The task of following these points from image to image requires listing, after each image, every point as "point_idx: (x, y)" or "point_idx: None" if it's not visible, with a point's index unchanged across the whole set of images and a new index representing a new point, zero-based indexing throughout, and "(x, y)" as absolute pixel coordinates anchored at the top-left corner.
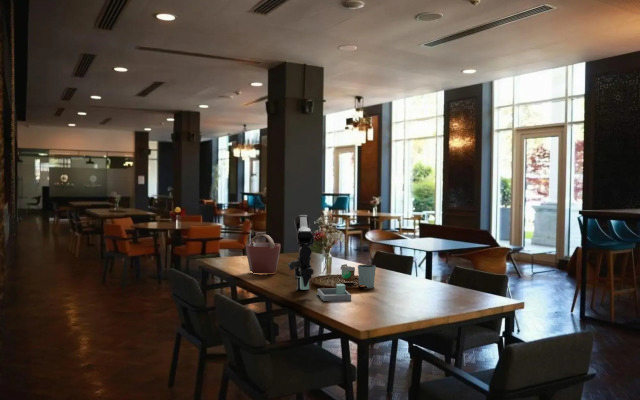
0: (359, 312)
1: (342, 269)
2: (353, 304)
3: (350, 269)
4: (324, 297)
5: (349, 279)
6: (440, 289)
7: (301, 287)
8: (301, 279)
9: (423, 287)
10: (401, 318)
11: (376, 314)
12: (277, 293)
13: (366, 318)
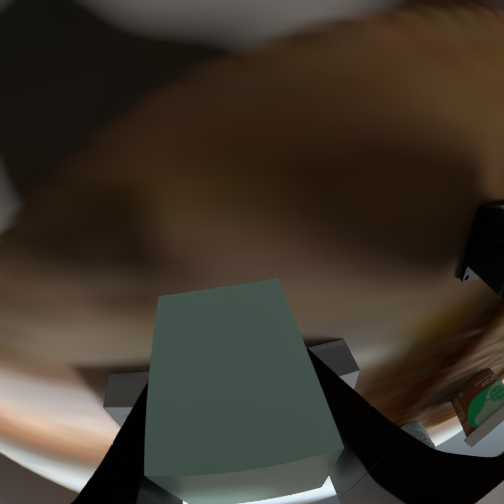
0: (10, 425)
1: (499, 411)
2: (104, 443)
3: (474, 435)
4: (108, 401)
5: (464, 404)
6: (304, 499)
7: (156, 321)
8: (147, 443)
9: (332, 487)
10: (18, 457)
11: (17, 443)
12: (447, 32)
13: None
